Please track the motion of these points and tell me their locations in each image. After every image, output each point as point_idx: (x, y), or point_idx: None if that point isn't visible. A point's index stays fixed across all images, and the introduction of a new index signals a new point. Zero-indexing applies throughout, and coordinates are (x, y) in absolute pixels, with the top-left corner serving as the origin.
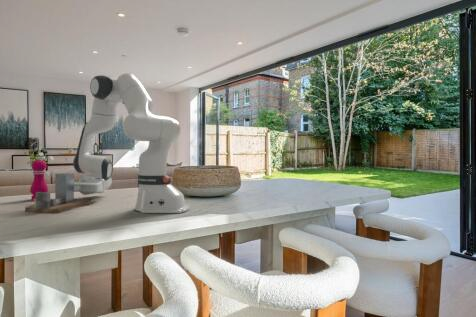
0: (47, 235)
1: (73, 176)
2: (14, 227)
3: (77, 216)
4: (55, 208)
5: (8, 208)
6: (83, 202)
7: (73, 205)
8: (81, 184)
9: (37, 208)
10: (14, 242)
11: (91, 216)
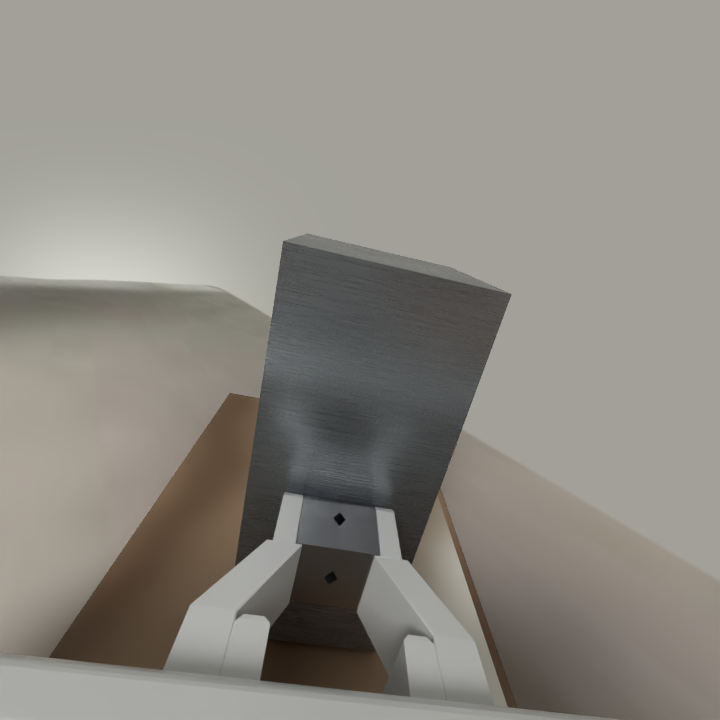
0: (161, 290)
1: (276, 303)
2: (268, 326)
3: (108, 365)
4: (253, 403)
5: (571, 503)
6: (74, 625)
7: (172, 479)
8: (129, 669)
9: None
10: (207, 287)
11: (31, 357)
